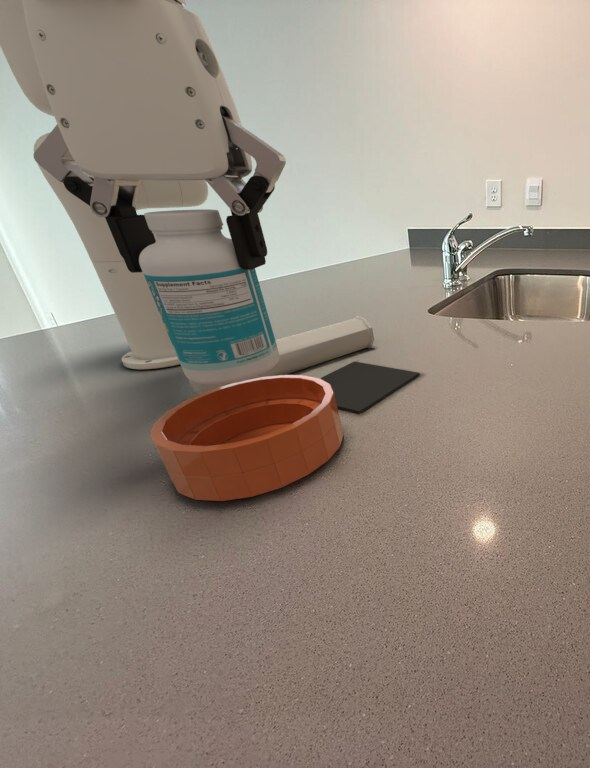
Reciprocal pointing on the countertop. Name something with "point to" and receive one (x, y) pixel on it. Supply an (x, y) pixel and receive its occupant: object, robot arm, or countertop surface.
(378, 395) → the coaster
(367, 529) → the countertop surface
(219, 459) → the bowl
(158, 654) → the countertop surface
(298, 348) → the tube
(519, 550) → the countertop surface
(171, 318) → the pill bottle
